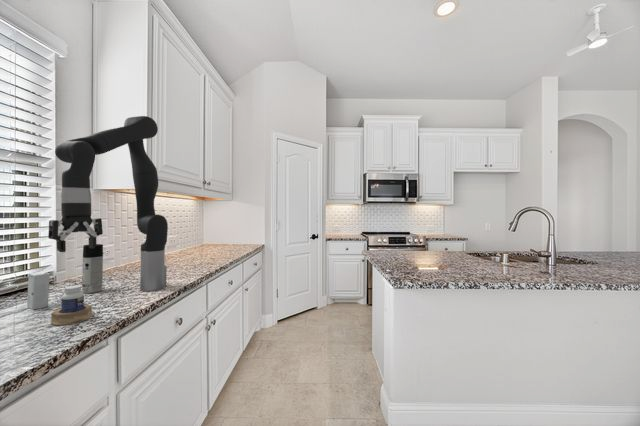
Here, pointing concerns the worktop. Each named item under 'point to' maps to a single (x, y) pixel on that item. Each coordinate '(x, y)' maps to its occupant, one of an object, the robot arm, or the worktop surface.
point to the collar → (71, 316)
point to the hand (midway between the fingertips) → (77, 250)
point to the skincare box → (38, 290)
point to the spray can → (92, 269)
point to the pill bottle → (72, 299)
